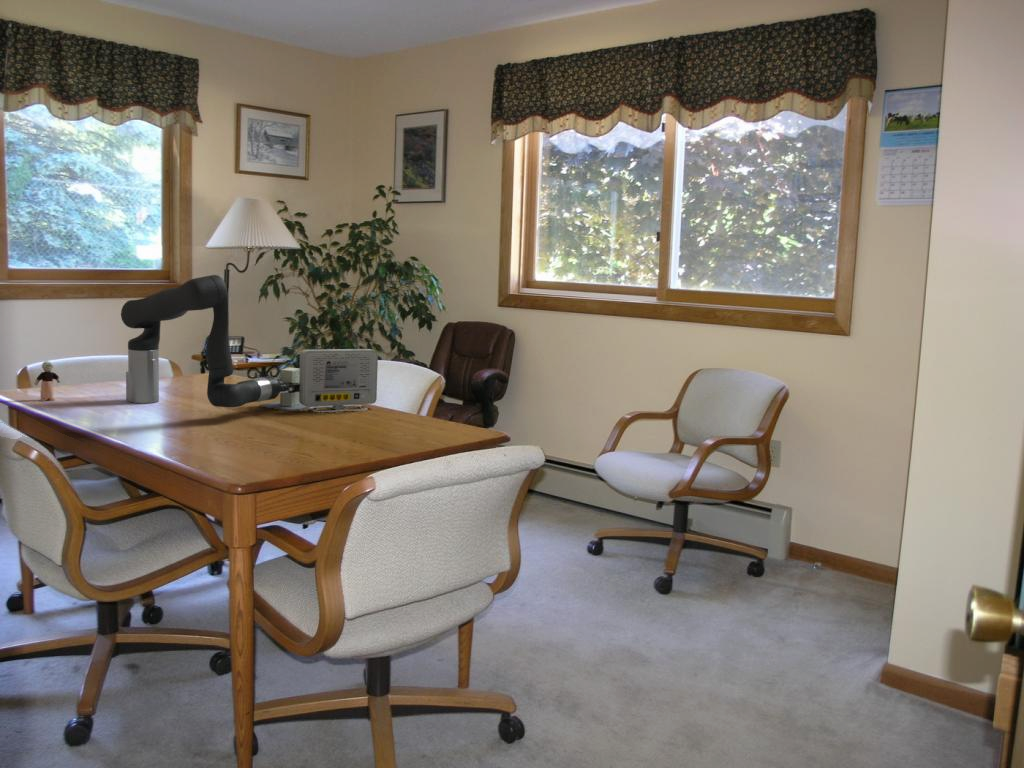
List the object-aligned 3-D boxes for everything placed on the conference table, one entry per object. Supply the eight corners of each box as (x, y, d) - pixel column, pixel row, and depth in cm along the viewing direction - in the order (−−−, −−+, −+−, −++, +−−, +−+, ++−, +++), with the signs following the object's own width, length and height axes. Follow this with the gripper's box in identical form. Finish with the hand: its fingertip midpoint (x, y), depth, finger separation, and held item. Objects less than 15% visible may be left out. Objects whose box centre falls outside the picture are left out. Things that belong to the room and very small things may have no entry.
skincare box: (288, 402, 296) (288, 367, 295) (300, 404, 295) (301, 368, 294) (279, 405, 290) (280, 369, 288) (291, 406, 289) (292, 370, 288)
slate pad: (259, 406, 290) (259, 404, 290) (286, 401, 303) (286, 399, 302) (293, 411, 284) (293, 409, 284) (319, 405, 297) (319, 404, 297)
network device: (369, 405, 302) (371, 348, 300) (379, 410, 295) (381, 351, 292) (296, 409, 289) (297, 348, 286) (305, 414, 282) (306, 352, 279)
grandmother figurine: (40, 402, 278) (39, 362, 276) (33, 400, 280) (32, 361, 278) (63, 399, 284) (62, 360, 283) (56, 398, 286) (55, 359, 284)
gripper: (280, 379, 276) (311, 374, 291) (244, 375, 282) (276, 370, 296) (279, 403, 277) (311, 397, 292) (243, 398, 283) (276, 392, 297)
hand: (293, 383), depth 294 cm, fingers open, 8 cm apart
